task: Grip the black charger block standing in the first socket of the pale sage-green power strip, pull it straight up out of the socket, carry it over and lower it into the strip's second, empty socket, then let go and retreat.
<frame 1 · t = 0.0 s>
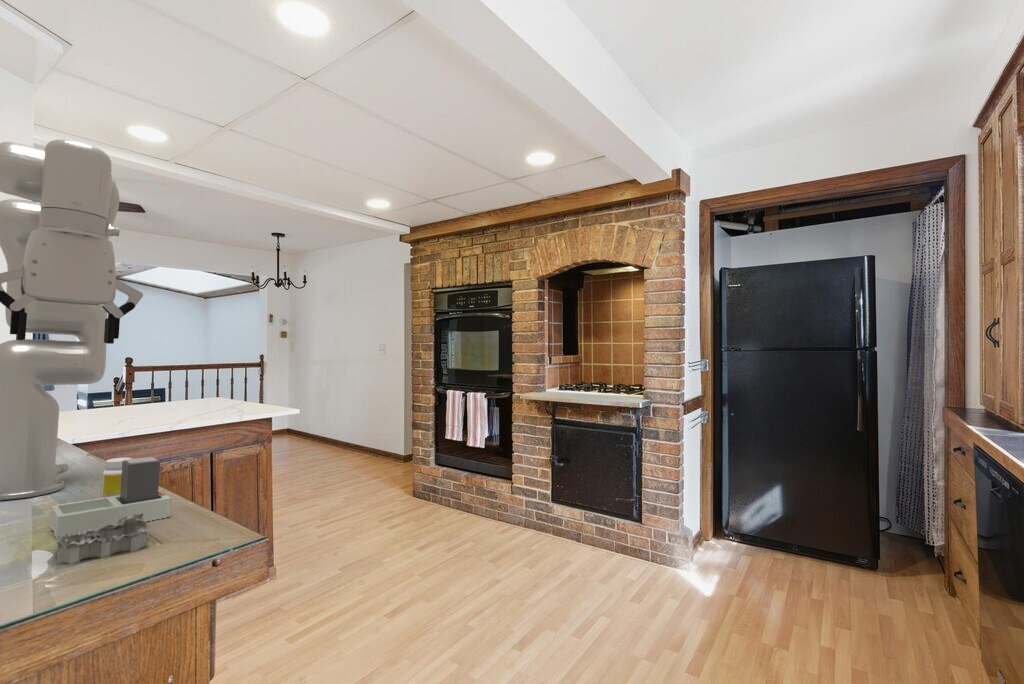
hand: (66, 341, 71), 31 cm above the countertop, tool pointing down, fingers open, 9 cm apart
supplement bottle: (116, 503, 94), on the countertop
power strip: (112, 521, 84), on the countertop
egg carton: (103, 553, 72), on the countertop
charger: (138, 505, 86), point 2 cm above the countertop, touching power strip
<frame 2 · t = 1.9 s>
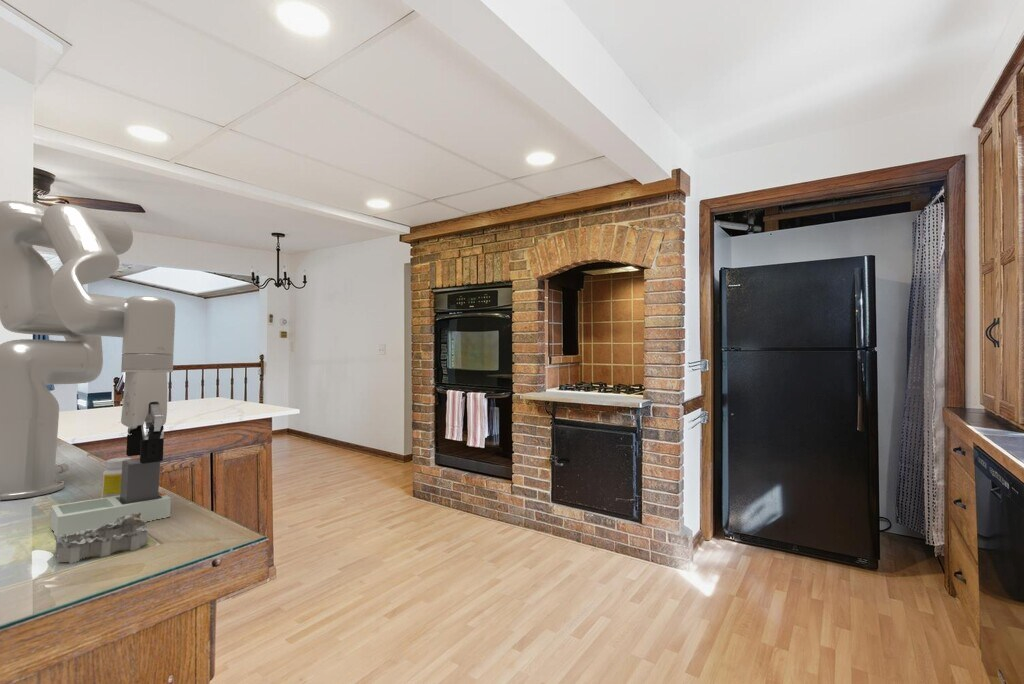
hand: (144, 458, 86), 11 cm above the countertop, tool pointing down, fingers open, 9 cm apart
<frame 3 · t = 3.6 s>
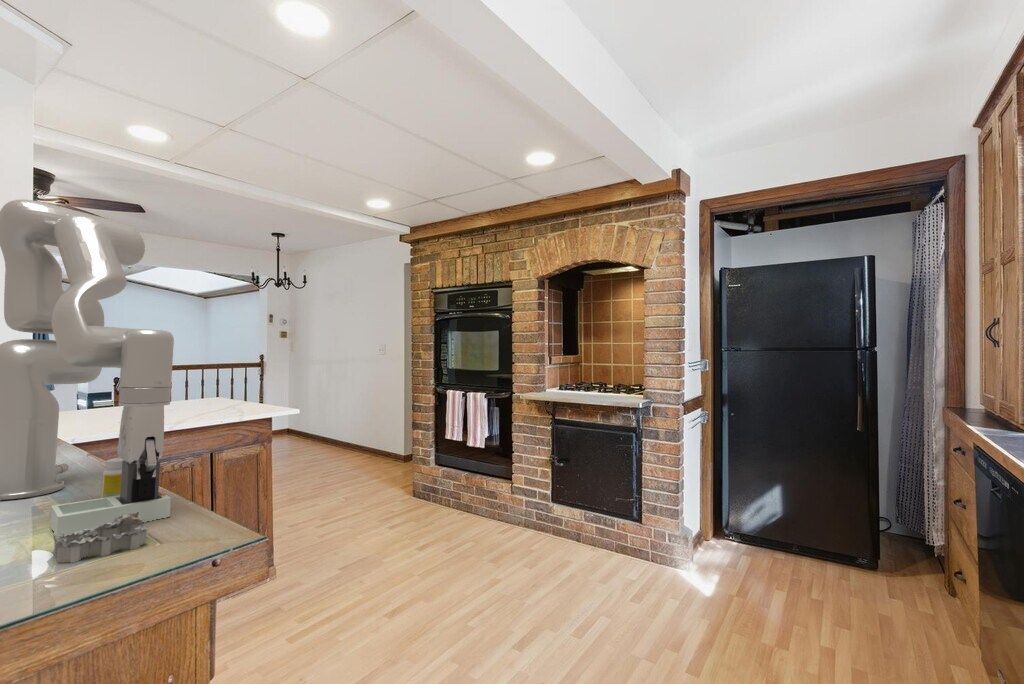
hand: (139, 496, 86), 4 cm above the countertop, tool pointing down, fingers closed on charger, power strip, 4 cm apart
charger: (138, 505, 86), point 2 cm above the countertop, touching gripper, power strip
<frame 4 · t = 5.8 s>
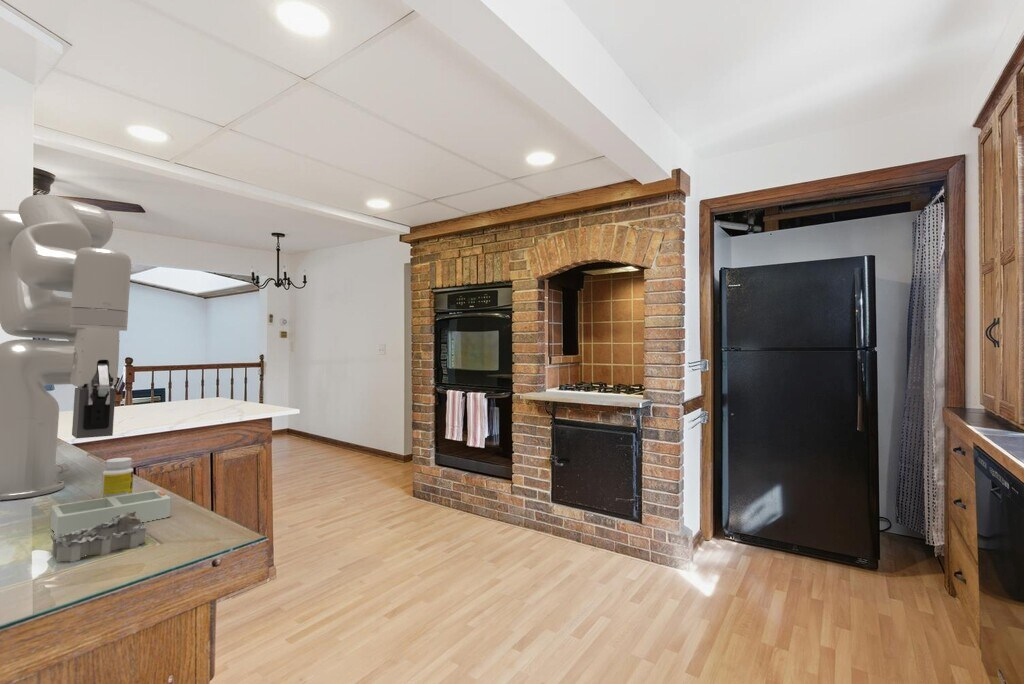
hand: (92, 425, 82), 17 cm above the countertop, tool pointing down, fingers closed on charger, 4 cm apart
charger: (92, 435, 82), point 15 cm above the countertop, touching gripper
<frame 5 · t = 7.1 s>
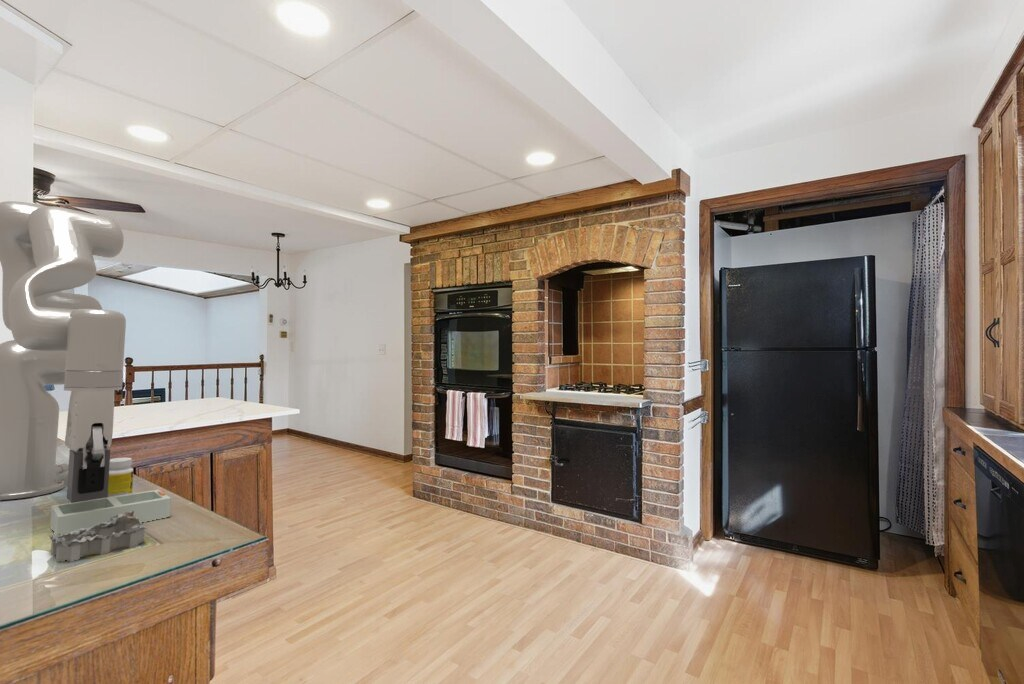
hand: (87, 487, 81), 7 cm above the countertop, tool pointing down, fingers closed on charger, 4 cm apart
charger: (87, 497, 81), point 5 cm above the countertop, touching gripper
when the fingers open (5 cm above the countertop, at t = 8.2 s): charger stays where it is, resting on power strip.
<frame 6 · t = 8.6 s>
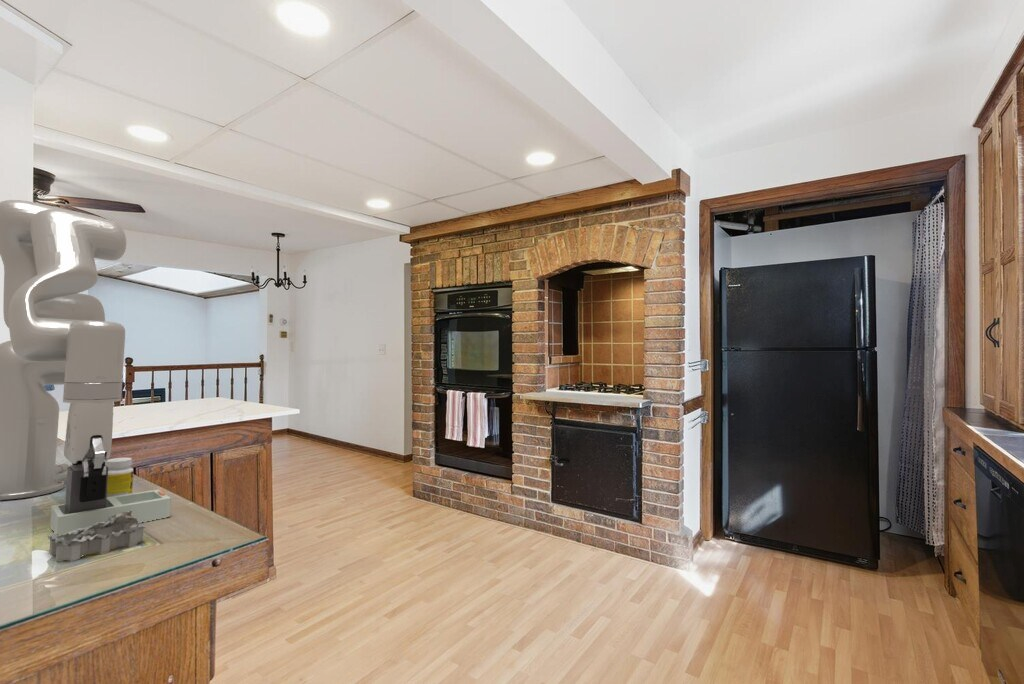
hand: (86, 494, 81), 6 cm above the countertop, tool pointing down, fingers open, 9 cm apart
charger: (85, 514, 81), point 2 cm above the countertop, touching power strip
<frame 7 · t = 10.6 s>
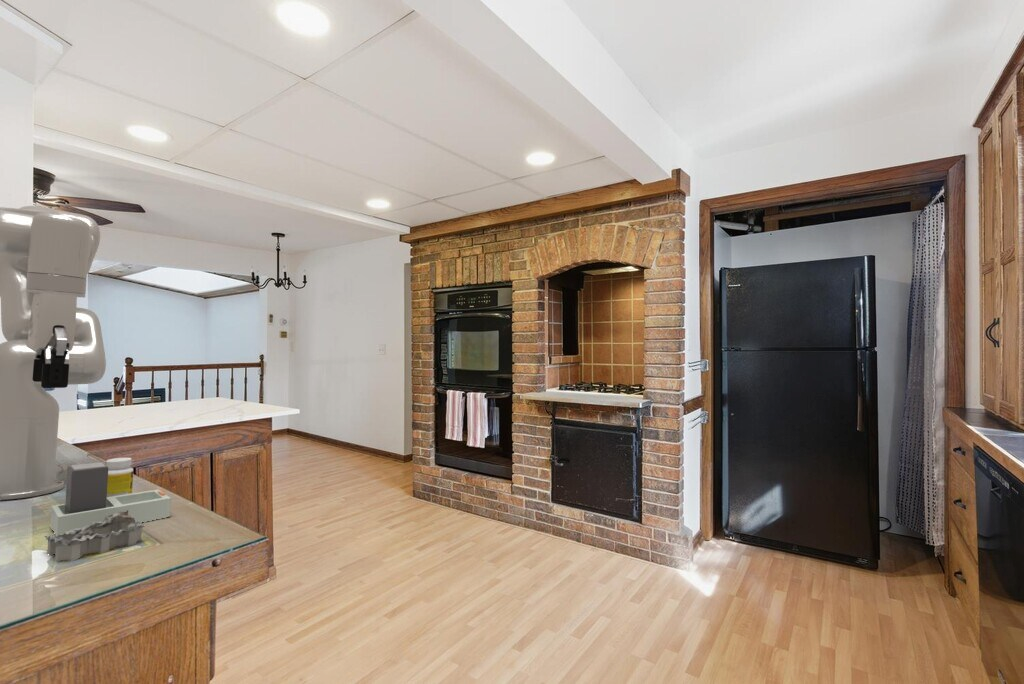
hand: (49, 384, 83), 24 cm above the countertop, tool pointing down, fingers open, 9 cm apart
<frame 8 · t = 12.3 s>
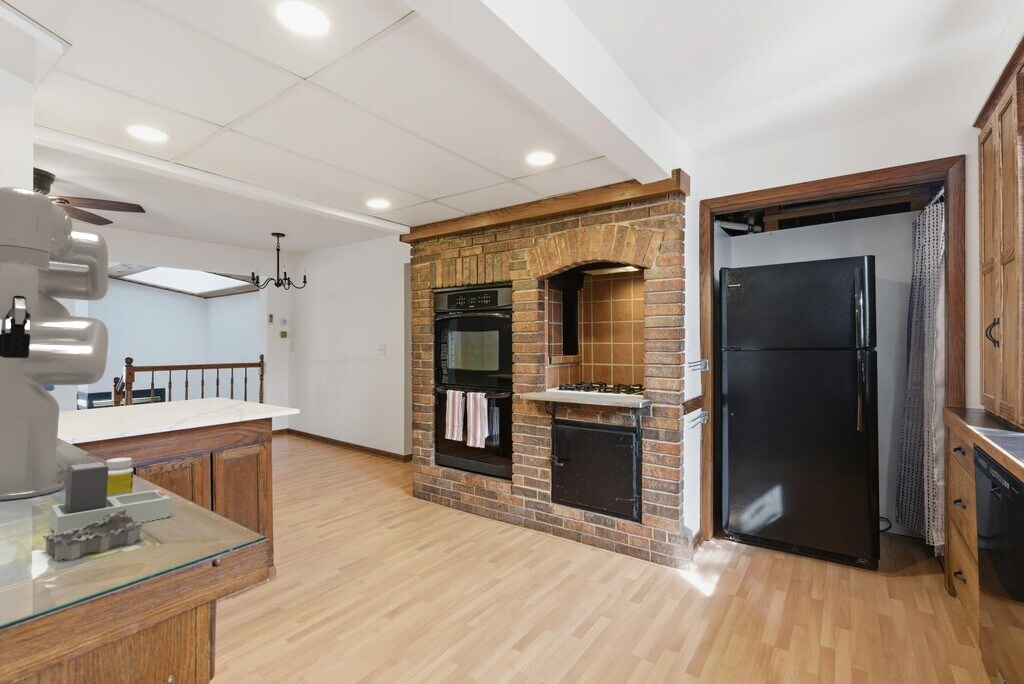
hand: (12, 357, 84), 28 cm above the countertop, tool pointing down, fingers open, 9 cm apart
at the end: charger 0.1 cm from the target spot on the power strip, point 2.1 cm above the power strip's base; charger tilted 0°; the gripper is holding nothing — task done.
